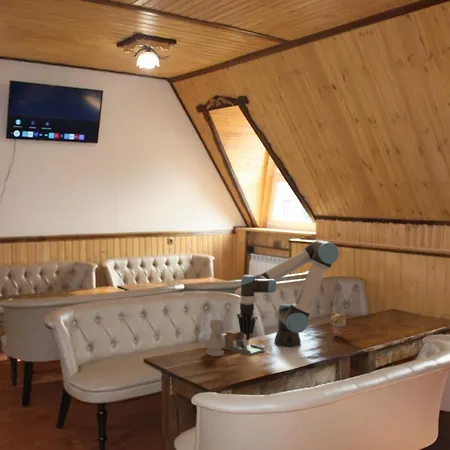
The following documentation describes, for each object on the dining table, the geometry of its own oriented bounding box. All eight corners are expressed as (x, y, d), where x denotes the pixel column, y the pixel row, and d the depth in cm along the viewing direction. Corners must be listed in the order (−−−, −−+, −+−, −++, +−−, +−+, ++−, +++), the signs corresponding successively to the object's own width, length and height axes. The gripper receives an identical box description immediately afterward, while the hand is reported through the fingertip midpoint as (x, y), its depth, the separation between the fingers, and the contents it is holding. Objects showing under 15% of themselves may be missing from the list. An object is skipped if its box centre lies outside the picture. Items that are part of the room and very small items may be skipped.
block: (236, 342, 337) (236, 329, 336) (244, 344, 333) (244, 330, 332) (225, 345, 330) (226, 331, 330) (233, 347, 326) (234, 333, 326)
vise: (234, 343, 340) (235, 331, 339) (264, 351, 325) (264, 338, 324) (220, 347, 331) (220, 334, 331) (249, 355, 316) (250, 342, 316)
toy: (326, 335, 365) (327, 311, 364) (335, 333, 371) (336, 310, 370) (339, 339, 358) (340, 314, 357) (348, 337, 364) (349, 313, 363)
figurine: (229, 353, 320) (230, 317, 319) (214, 357, 310) (216, 321, 309) (215, 349, 326) (217, 314, 325) (201, 354, 316) (202, 318, 315)
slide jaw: (244, 344, 333) (244, 337, 333) (250, 345, 330) (250, 338, 330) (233, 347, 326) (233, 340, 326) (239, 348, 323) (239, 341, 323)
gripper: (234, 302, 326) (232, 344, 327) (251, 305, 317) (250, 348, 319) (242, 300, 332) (241, 341, 333) (260, 304, 323) (259, 346, 324)
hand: (246, 345), depth 326 cm, fingers closed
